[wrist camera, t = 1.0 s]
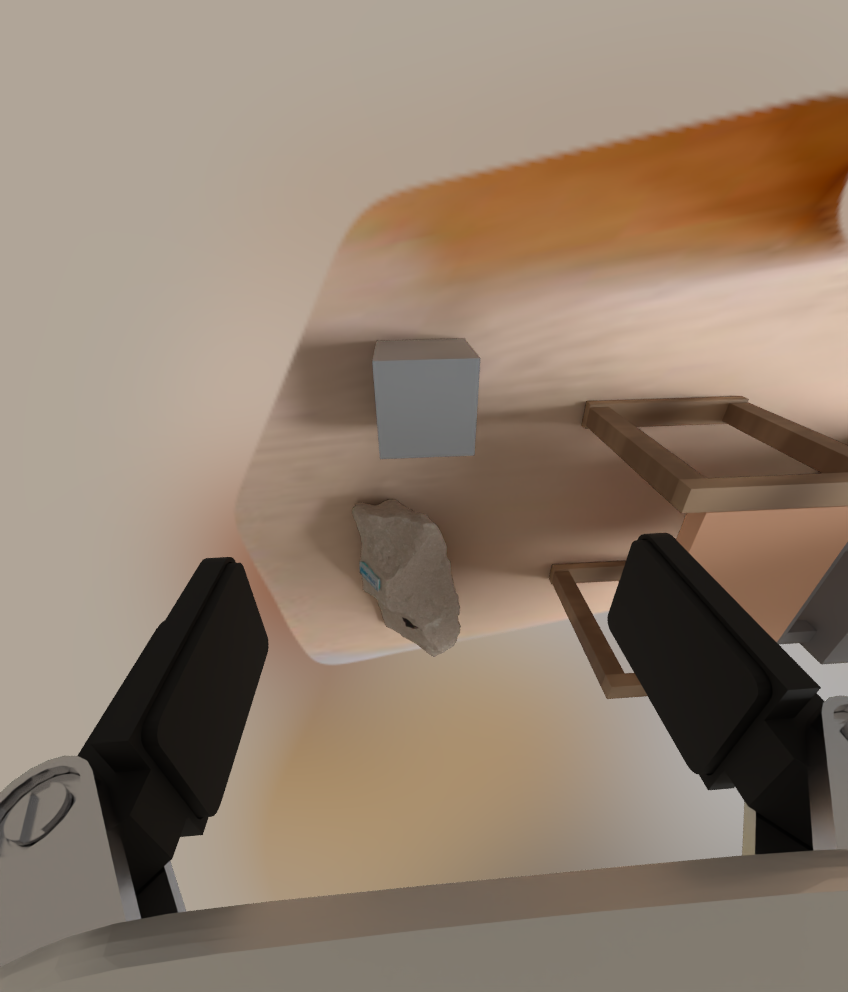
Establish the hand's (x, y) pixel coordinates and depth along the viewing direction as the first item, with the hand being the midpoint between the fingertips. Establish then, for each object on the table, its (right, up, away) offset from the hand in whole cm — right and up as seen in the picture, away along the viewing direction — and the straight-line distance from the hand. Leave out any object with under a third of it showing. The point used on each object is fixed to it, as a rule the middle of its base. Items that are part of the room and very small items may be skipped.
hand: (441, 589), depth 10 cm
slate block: (-1, +9, +14) cm, 17 cm away
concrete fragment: (-2, -3, +22) cm, 22 cm away
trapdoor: (+19, -2, +13) cm, 23 cm away
